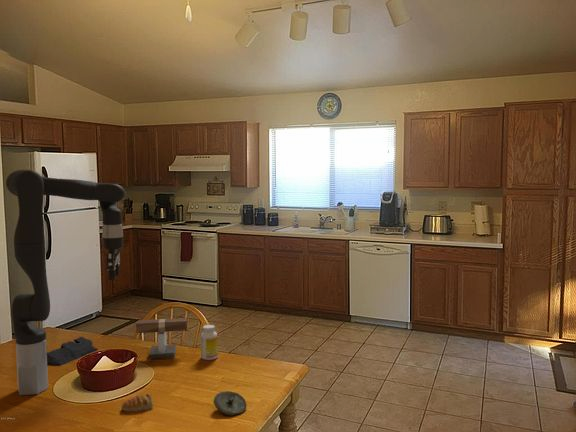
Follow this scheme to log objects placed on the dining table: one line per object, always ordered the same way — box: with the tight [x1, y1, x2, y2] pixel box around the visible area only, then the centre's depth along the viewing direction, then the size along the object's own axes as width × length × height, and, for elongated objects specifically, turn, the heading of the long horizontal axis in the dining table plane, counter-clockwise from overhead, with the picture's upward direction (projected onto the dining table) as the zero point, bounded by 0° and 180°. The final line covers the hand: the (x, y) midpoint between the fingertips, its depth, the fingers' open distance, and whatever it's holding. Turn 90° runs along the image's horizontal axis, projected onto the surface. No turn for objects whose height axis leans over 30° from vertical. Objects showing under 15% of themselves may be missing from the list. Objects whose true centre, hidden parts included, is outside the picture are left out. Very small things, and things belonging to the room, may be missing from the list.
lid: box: [213, 390, 247, 417], centre depth 153 cm, size 11×10×5 cm
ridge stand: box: [148, 332, 177, 360], centre depth 201 cm, size 10×10×10 cm
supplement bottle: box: [200, 324, 219, 361], centre depth 197 cm, size 7×7×13 cm
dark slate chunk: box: [47, 336, 98, 366], centre depth 201 cm, size 15×22×5 cm
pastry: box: [121, 392, 154, 413], centre depth 155 cm, size 9×7×4 cm
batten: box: [135, 317, 188, 334], centre depth 200 cm, size 4×20×4 cm, turn 99°
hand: (114, 277), depth 189 cm, fingers open, 8 cm apart
